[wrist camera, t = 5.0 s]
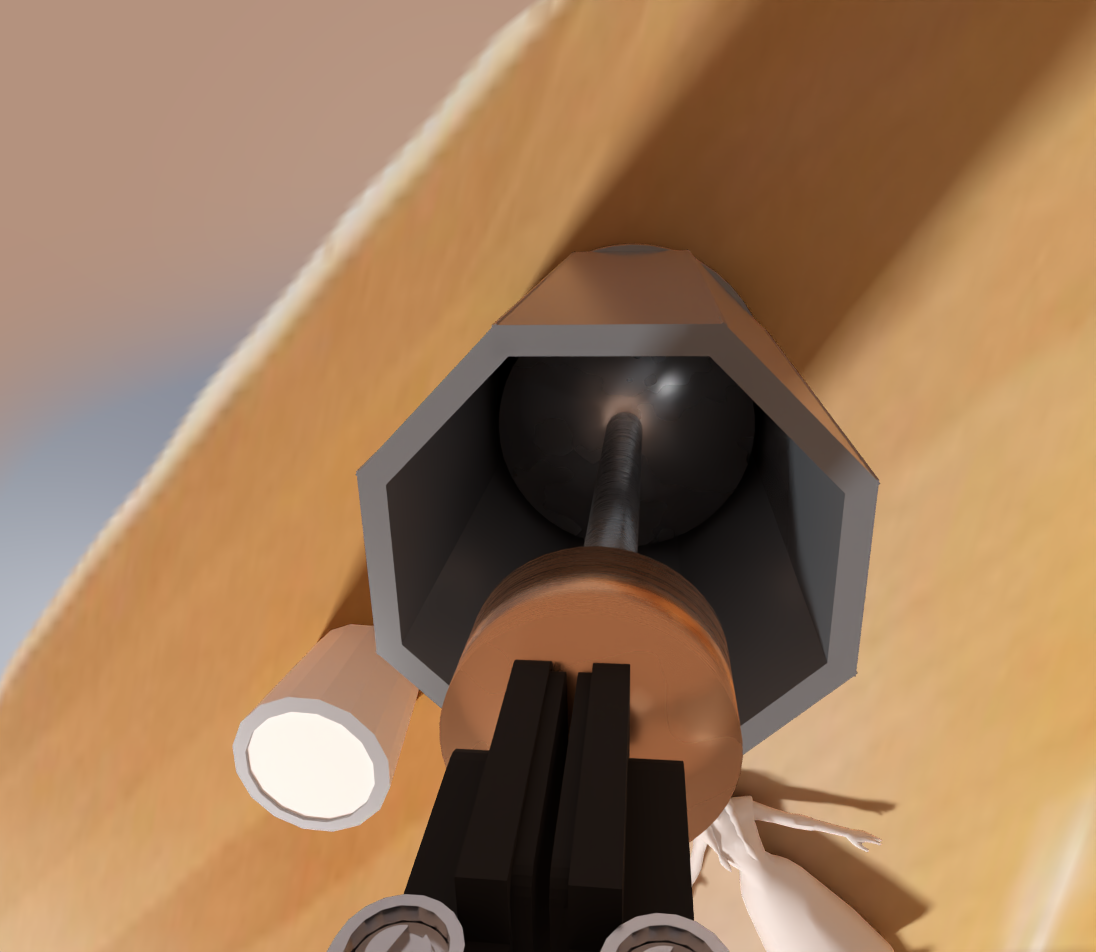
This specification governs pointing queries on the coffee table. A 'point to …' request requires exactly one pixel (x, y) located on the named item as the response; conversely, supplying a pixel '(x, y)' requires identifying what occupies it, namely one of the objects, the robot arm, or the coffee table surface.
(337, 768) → the white cylinder
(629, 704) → the robot arm
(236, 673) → the coffee table surface
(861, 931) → the woman figurine
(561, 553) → the plunger
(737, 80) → the coffee table surface
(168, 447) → the coffee table surface
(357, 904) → the coffee table surface
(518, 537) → the press pot
